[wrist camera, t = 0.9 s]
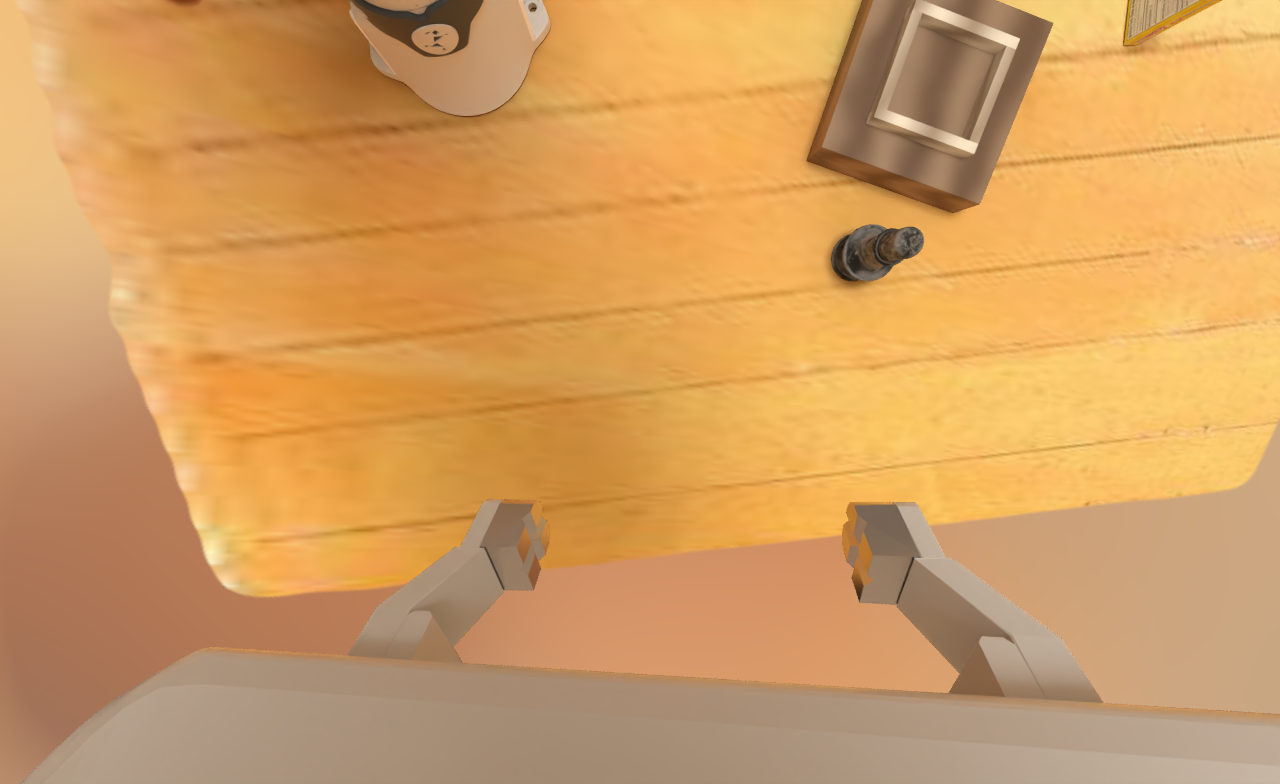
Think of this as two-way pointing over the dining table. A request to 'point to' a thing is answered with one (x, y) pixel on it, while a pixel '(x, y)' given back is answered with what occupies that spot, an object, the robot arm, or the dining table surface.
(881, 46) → the display stand
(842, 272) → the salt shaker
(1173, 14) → the candy box
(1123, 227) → the dining table surface
